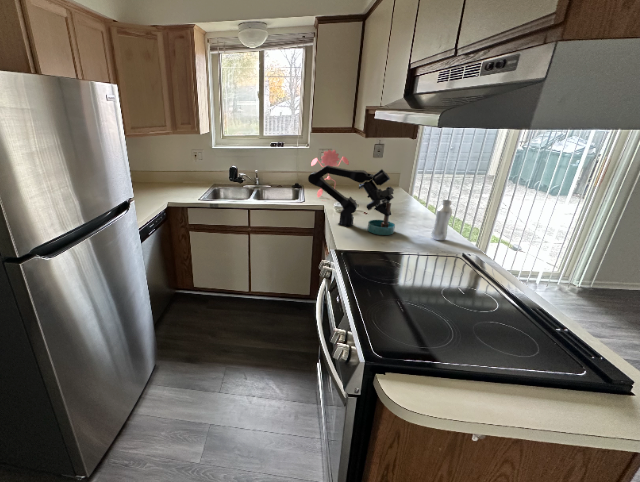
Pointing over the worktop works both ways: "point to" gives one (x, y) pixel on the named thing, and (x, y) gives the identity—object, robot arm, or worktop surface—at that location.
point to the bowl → (376, 228)
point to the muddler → (385, 222)
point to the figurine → (329, 163)
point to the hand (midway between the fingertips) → (389, 215)
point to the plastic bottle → (442, 221)
